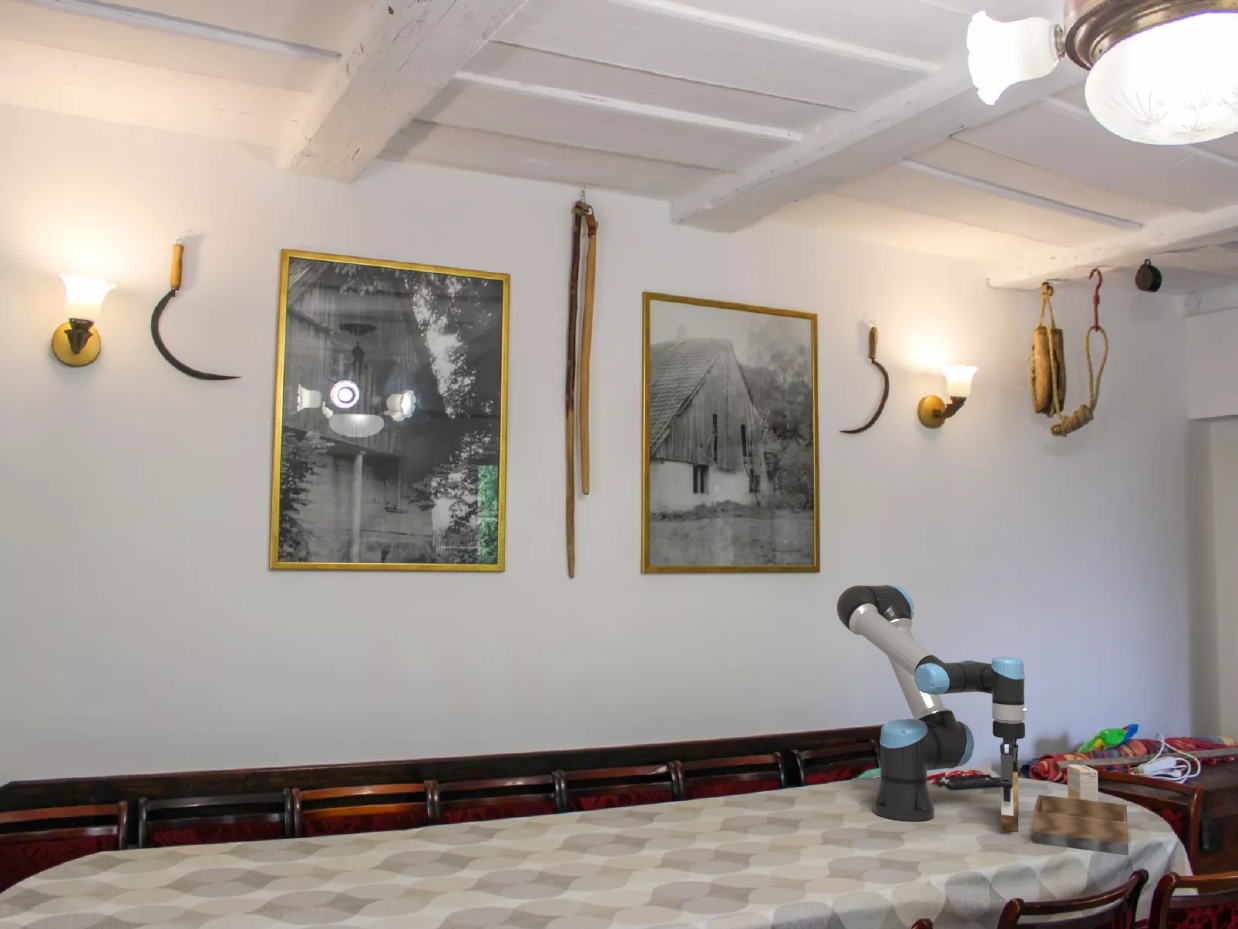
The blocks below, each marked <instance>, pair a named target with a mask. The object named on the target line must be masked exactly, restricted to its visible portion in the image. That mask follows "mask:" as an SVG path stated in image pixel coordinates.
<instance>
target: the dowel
mask: <svg viewBox="0 0 1238 929" xmlns="http://www.w3.org/2000/svg"><path fill="white" fill-rule="evenodd" d="M1018 772H1019V771H1018ZM1018 772H1015V771H1013V782H1012V784H1013V801H1014V816H1011V815H1002V814H1001V813H1000V821H1001V822H1000V830H1001V831H1002V832H1005V831H1006V832H1005V833H1012V832H1015V833H1018V832H1019V776H1018Z"/></svg>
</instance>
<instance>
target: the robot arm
mask: <svg viewBox="0 0 1238 929" xmlns="http://www.w3.org/2000/svg"><path fill="white" fill-rule="evenodd" d="M836 602H837V603H836V613H837V616H838V618H839V621H840V622H841V624H842V625H843V626H844V627H846V629H847V630H849V631H850V632H852V633H853V634H854V635H857V636H862V637H864V638H865V639H866V640H867V641H869V642H870V643H871V644H872V645H874V646H875V647H876V648H877V649H878V650H880V651H881V652H882V653H884V654H885V655H886V656H887V658H888V659H889V662H890V665H891V668H892V670H893V672H894V674H895V677H896V680H897V681H898V684H899V686H900V689H901V691H902V693H903V696H904V698H905V700H906V703H907V706H908V707H909V709H910V713H911V715H912V717H913V718H906V719H901V718H900V719H894V720H890V721H888V722H886V723H884V724H883V725H882V727H881V729H880V738H879V744H880V781H879V786H878V789H877V791H876V794H875V798H874V801H873V812H874V814H875V815H878V816H880V817H882V818H887V819H891V820H897V821H907V822H918V821H919V822H921V821H927V820H932V819H933V818H935V807H934V806H935V805H934V803H933V800H932V797H931V793H930V790H929V787H928V771H934V770H935V771H936V770H945V769H949V770H950V769H956V768H959V767H962V766H964V765H966V764H967V763H969V761H970V760H971V759H972V756H973V751H974V750H975V740H974V735H973V733H972V731H971V729H970V728H969V726H968V725H967V724H966V723H964V722H962V721H957V719H956V717H955V714H954V713H953V711H952V710H951V709H950V708H947V707H945V706H944V703H943V701H942V699H941V697H940V696H941V695H946V694H948V695H949V694H960V693H973V692H974V693H984V694H991V699H992V700H991V710H992V711H991V715H992V719H993V721H992V735H993V736H994V737H995V738H998V739H1000V738H1001V739H1002V742H1000V744H999V751H1000V756H999V757H1000V782H997V787H998V788H999V787H1000V815H1001V814H1002V815H1011V816H1014V801H1013V784H1012V782H1013V771H1015V772H1018V777H1021V775H1022V772H1021V771H1019V764H1018V758H1019V756H1018V755H1019V753H1018V752H1019V744H1018V743H1017V741H1018V740H1022V739H1024V738H1025V737H1026V723H1025V722H1023V721H1025V717H1026V716H1025V715H1026V714H1025V713H1027V712H1028V709H1027V707H1025V678H1026V677H1025V676H1026V675H1025V668H1024V662H1023V660H1022V659H1021V658H1019V657H1014V656H1013V657H1012V656H1011V657H1010V656H994V657H992V658H991V663H987V662H983V661H982V662H981V661H975V660H971V659H970V660H965V659H964V660H959V661H957V662H944V661H942V660H941V659H939V657H937V656H935V655H934V654H933V653H931V652H930V651H929V650H927V649H926V648H925V647H924V646H922V645H921V644H919V643H918V642H917V641H915V638H914V636H913V634H912V632H911V628H912V626H913V621H912V619H913V618H914V611H913V610H914V609H915V608H914V602H913V600H912V598H911V595H910V594H909V593H908V592H907V591H906V590H905V589H904V588H902V587H900V586H896V585H888V584H883V585H882V584H881V585H853V586H850V587H848V588H846V589H845V590H844V591H843V592H842V593H841V594H840V595H839V597H838V599H837V601H836Z"/></svg>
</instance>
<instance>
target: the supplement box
mask: <svg viewBox="0 0 1238 929" xmlns="http://www.w3.org/2000/svg"><path fill="white" fill-rule="evenodd" d="M1066 766H1067V767H1066V768H1067V772H1066V773H1067V774H1066V775H1067V798H1073V799H1082V800H1091V801H1099V777H1098V776H1099V773H1098V770H1096V769H1094V768H1091V767H1089V766H1087V765H1085V764H1067V765H1066Z"/></svg>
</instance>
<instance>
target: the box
mask: <svg viewBox="0 0 1238 929" xmlns="http://www.w3.org/2000/svg"><path fill="white" fill-rule="evenodd" d="M1032 814H1033V815H1032V820H1033V825H1032V826H1033V827H1032V830H1033V831H1032V834H1033V837H1032V838H1033V839H1032V841H1033V843H1034V844H1040V845H1041V844H1043V845H1047V846H1048V845H1049V846H1056V847H1057V846H1058V847H1062V848H1071V849H1079V850H1087V851H1094V852H1102V853H1111V854H1117V855H1125V856H1128V855H1129V827H1128V826H1129V825H1128V823H1129V822H1128V806H1127V804H1125V803H1117V802H1107V801H1099V800H1098V801H1091V800H1082V799H1073V798H1068V797H1062V796H1054V795H1046V794H1038V796H1037V800H1036V803H1035V804H1034V809H1033V811H1032Z"/></svg>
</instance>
